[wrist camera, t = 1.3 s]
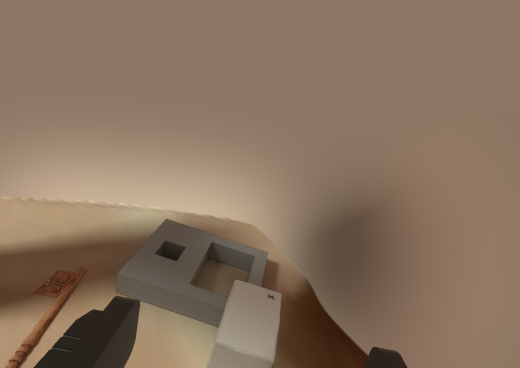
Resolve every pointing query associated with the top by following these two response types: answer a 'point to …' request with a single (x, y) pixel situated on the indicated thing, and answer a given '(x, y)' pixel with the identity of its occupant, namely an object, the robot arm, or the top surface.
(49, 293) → the key
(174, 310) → the holder
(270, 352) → the skincare box
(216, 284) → the top surface
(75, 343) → the robot arm
